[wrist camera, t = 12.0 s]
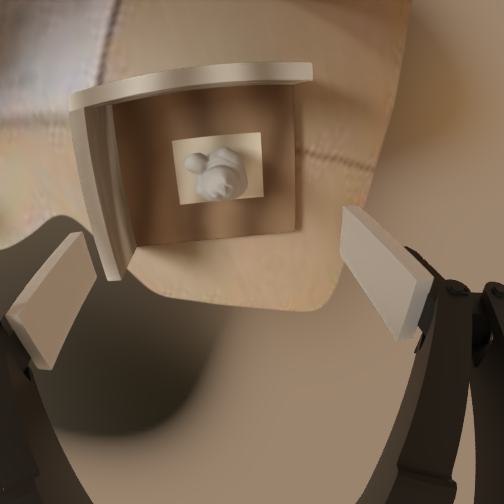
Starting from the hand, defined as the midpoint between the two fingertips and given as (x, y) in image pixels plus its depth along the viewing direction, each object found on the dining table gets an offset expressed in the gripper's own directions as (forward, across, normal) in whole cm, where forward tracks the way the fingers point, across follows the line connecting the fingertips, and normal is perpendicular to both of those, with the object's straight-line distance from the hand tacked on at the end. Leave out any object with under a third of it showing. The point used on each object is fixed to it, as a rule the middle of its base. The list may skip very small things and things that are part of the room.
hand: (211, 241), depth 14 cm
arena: (+19, -2, 0) cm, 19 cm away
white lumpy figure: (+18, 0, 0) cm, 18 cm away
